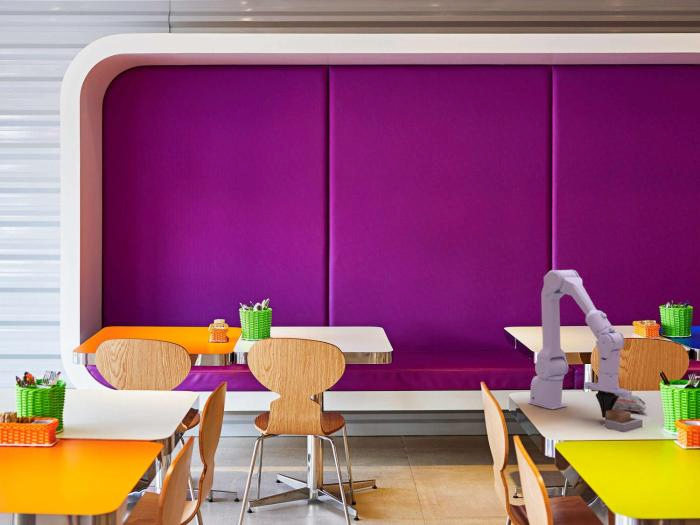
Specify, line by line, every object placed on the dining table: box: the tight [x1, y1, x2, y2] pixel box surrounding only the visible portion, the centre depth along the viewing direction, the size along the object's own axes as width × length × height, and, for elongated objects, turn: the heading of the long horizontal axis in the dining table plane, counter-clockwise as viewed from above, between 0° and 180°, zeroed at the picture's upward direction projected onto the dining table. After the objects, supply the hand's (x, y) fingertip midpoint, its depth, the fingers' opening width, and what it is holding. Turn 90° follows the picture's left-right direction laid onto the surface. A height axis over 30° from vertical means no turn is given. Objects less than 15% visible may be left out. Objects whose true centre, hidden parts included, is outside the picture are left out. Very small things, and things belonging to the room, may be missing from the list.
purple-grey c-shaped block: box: [604, 416, 644, 433], centre depth 224 cm, size 6×10×2 cm, turn 130°
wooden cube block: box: [604, 408, 632, 423], centre depth 225 cm, size 5×5×4 cm
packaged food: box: [612, 394, 647, 413], centre depth 244 cm, size 9×12×5 cm
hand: (606, 417), depth 228 cm, fingers closed
